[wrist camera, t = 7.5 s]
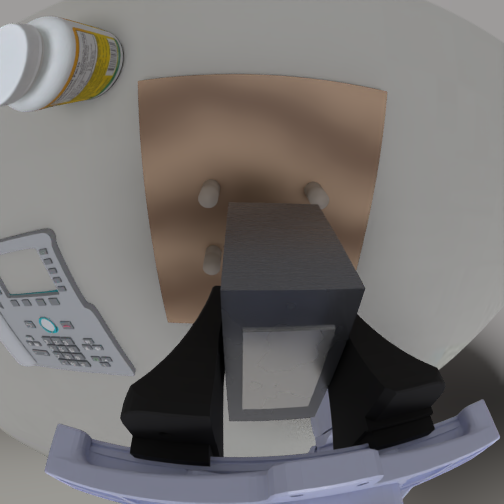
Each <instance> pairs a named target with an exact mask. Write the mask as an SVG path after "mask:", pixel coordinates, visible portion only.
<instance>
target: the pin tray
mask: <svg viewBox="0 0 504 504" xmlns="http://www.w3.org/2000/svg"><path fill="white" fill-rule="evenodd" d="M386 101H387V92H386V91H382V90H377V89H373V88H368V87H363V86H357V85H352V84H346V83H340V82H333V81H326V80H319V79H310V78H301V77H289V76H275V75H252V74H215V75H193V76H179V77H167V78H158V79H150V80H142V81H138V102H139V125H140V140H141V153H142V165H143V175H144V185H145V193H146V201H147V209H148V217H149V224H150V230H151V237H152V243H153V249H154V255H155V261H156V267H157V272H158V277H159V283H160V288H161V293H162V297H163V302H164V307H165V311H166V316H167V320H168V322H171V323H194V322H195V321H196V319H197V318H198V316H199V314H200V312H201V311H202V309H203V307H204V305H205V304H206V302H207V300H208V297H209V295H210V293H211V290H212V287H214V286H221V277H222V266H223V255H224V244H225V233H226V223H227V213H228V203H229V202H241V203H292V204H318V205H319V207H320V209H321V210H322V212H323V213H324V215H325V217H326V219H327V220H328V222H329V224H330V225H331V227H332V229H333V230H334V232H335V234H336V236H337V237H338V239H339V241H340V243H341V244H342V246H343V248H344V250H345V252H346V253H347V255H348V257H349V259H350V261H351V263H352V264H353V266H354V268H355V270H356V269H357V265H358V261H359V257H360V253H361V249H362V245H363V240H364V236H365V232H366V227H367V223H368V218H369V213H370V208H371V203H372V198H373V193H374V188H375V182H376V176H377V170H378V164H379V158H380V151H381V144H382V137H383V129H384V120H385V111H386Z"/></svg>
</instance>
